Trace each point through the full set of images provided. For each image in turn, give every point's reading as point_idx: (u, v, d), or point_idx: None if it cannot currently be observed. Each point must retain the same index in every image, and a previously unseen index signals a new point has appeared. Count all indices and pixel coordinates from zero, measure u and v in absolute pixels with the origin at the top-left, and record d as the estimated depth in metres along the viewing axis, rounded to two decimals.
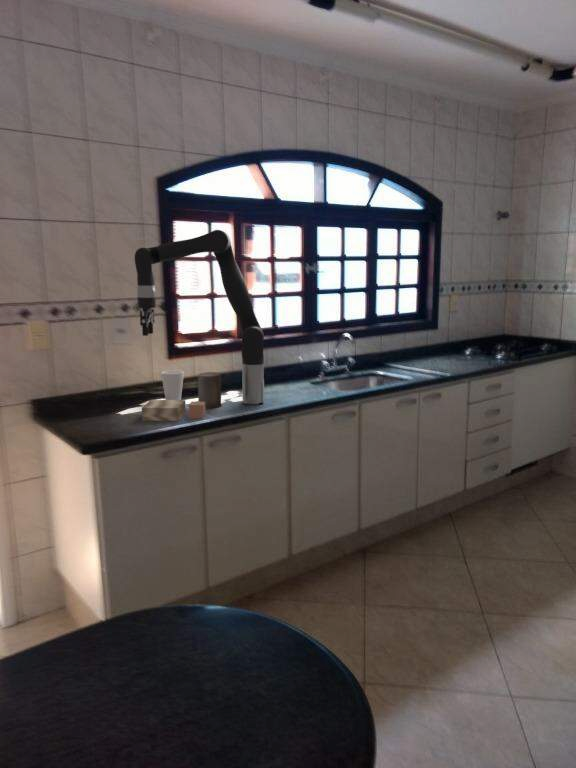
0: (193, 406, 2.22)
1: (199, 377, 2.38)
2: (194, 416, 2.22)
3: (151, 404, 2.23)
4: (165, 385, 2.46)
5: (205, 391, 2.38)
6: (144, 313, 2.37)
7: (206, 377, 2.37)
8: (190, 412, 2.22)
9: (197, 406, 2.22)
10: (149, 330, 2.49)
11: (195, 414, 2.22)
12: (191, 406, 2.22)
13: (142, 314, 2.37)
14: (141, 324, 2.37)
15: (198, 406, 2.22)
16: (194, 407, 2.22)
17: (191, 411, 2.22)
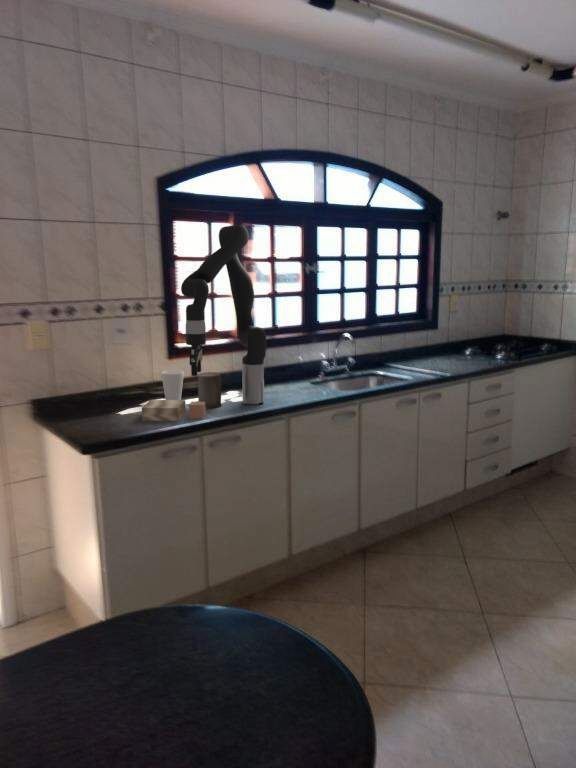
0: (193, 406, 2.22)
1: (199, 377, 2.38)
2: (194, 416, 2.22)
3: (151, 404, 2.23)
4: (165, 385, 2.46)
5: (205, 391, 2.38)
6: (194, 351, 2.13)
7: (206, 377, 2.37)
8: (190, 412, 2.22)
9: (197, 406, 2.22)
10: (197, 368, 2.26)
11: (195, 414, 2.22)
12: (191, 406, 2.22)
13: (192, 353, 2.13)
14: (190, 363, 2.14)
15: (198, 406, 2.22)
16: (194, 407, 2.22)
17: (191, 411, 2.22)
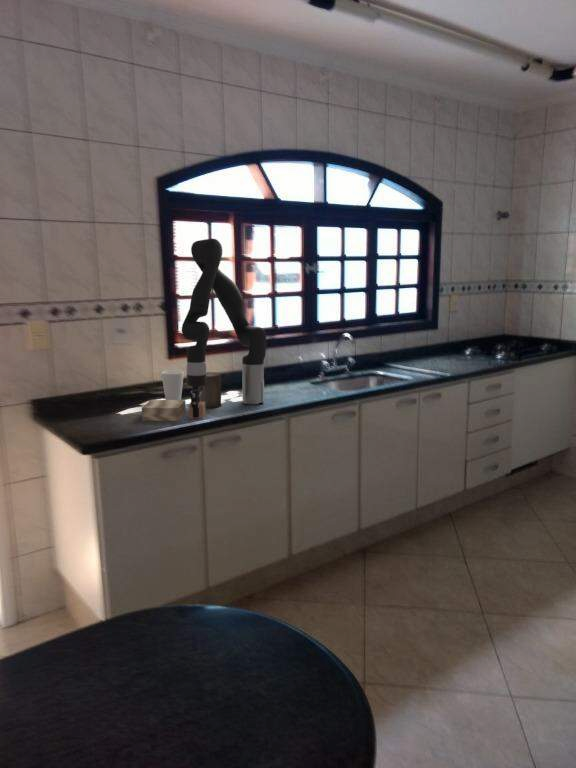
0: None
1: None
2: None
3: (151, 404, 2.23)
4: (165, 385, 2.46)
5: (205, 391, 2.38)
6: (195, 396, 2.17)
7: (206, 377, 2.37)
8: (190, 412, 2.22)
9: None
10: None
11: None
12: None
13: (193, 397, 2.17)
14: (192, 406, 2.18)
15: None
16: None
17: (191, 411, 2.22)
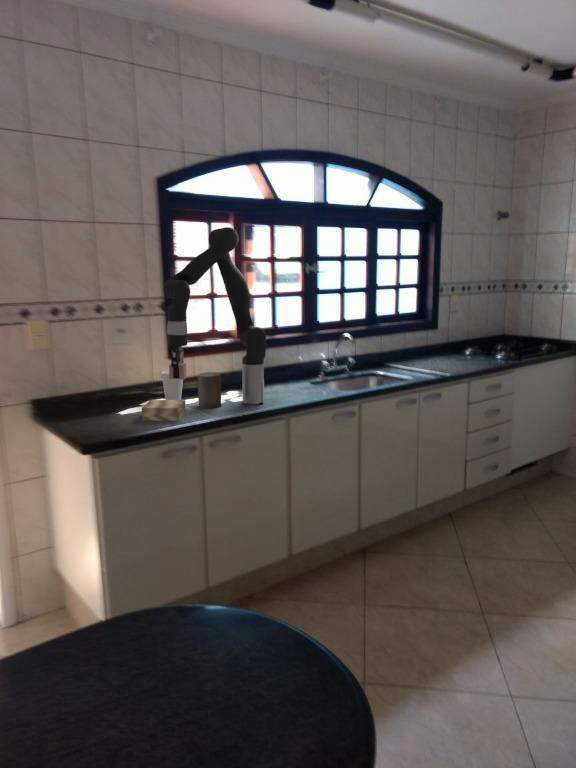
0: None
1: (199, 377, 2.38)
2: None
3: (151, 404, 2.23)
4: (165, 385, 2.46)
5: (205, 391, 2.38)
6: (175, 355, 2.13)
7: (206, 377, 2.37)
8: (170, 372, 2.19)
9: None
10: None
11: None
12: (171, 366, 2.18)
13: (173, 356, 2.13)
14: (172, 366, 2.15)
15: None
16: None
17: (171, 371, 2.18)
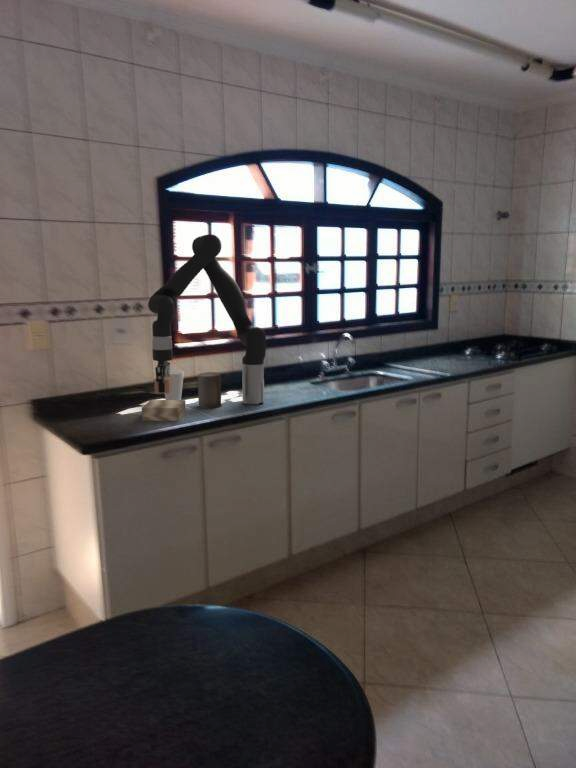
0: None
1: (199, 377, 2.38)
2: None
3: (151, 404, 2.23)
4: None
5: (205, 391, 2.38)
6: (160, 370, 2.15)
7: (206, 377, 2.37)
8: (156, 387, 2.20)
9: None
10: None
11: None
12: (156, 381, 2.20)
13: (158, 371, 2.15)
14: (157, 381, 2.17)
15: None
16: None
17: (156, 386, 2.20)
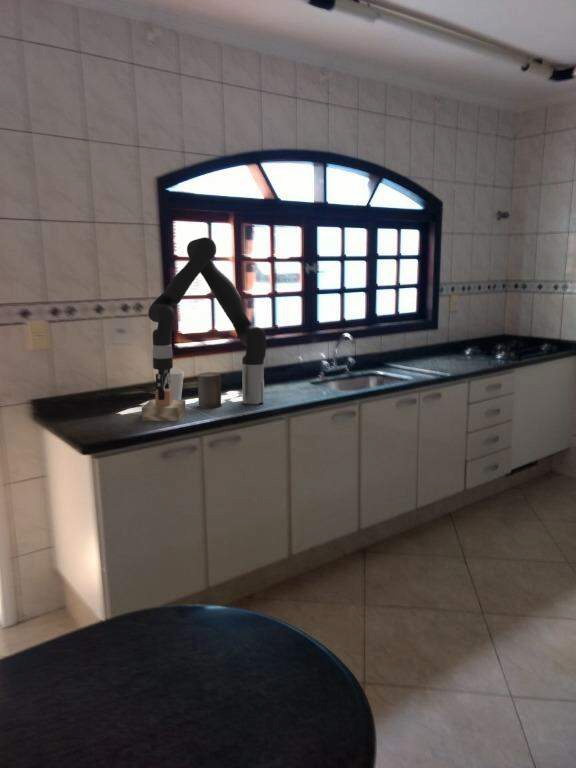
0: None
1: (199, 377, 2.38)
2: (160, 403, 2.22)
3: (151, 404, 2.23)
4: None
5: (205, 391, 2.38)
6: (160, 376, 2.15)
7: (206, 377, 2.37)
8: (156, 399, 2.21)
9: None
10: None
11: (162, 401, 2.21)
12: (157, 393, 2.21)
13: (158, 377, 2.15)
14: (157, 388, 2.16)
15: (164, 393, 2.21)
16: None
17: (157, 398, 2.21)
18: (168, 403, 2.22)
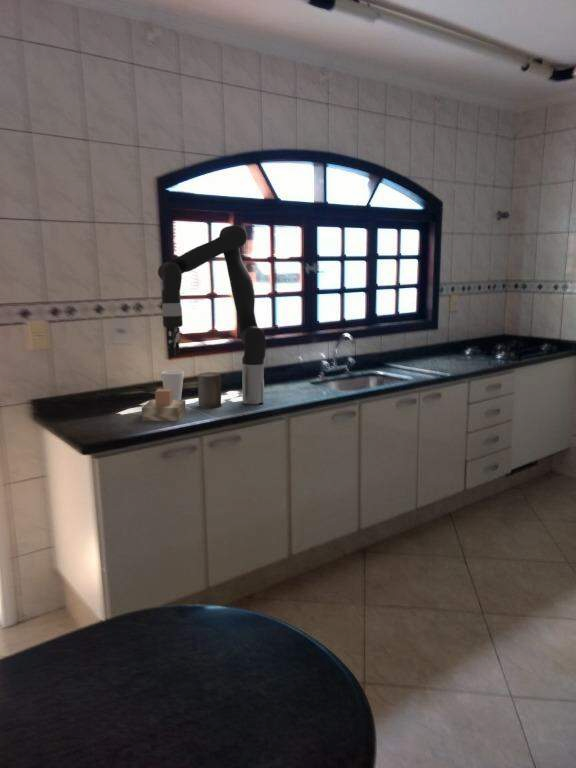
0: (159, 393, 2.21)
1: (199, 377, 2.38)
2: (160, 403, 2.22)
3: (151, 404, 2.23)
4: (165, 385, 2.46)
5: (205, 391, 2.38)
6: (171, 333, 2.20)
7: (206, 377, 2.37)
8: (156, 399, 2.21)
9: (163, 393, 2.21)
10: (175, 350, 2.32)
11: (162, 401, 2.21)
12: (157, 393, 2.21)
13: (169, 334, 2.20)
14: (168, 345, 2.20)
15: (164, 393, 2.21)
16: (160, 394, 2.21)
17: (157, 398, 2.21)
18: (168, 403, 2.22)
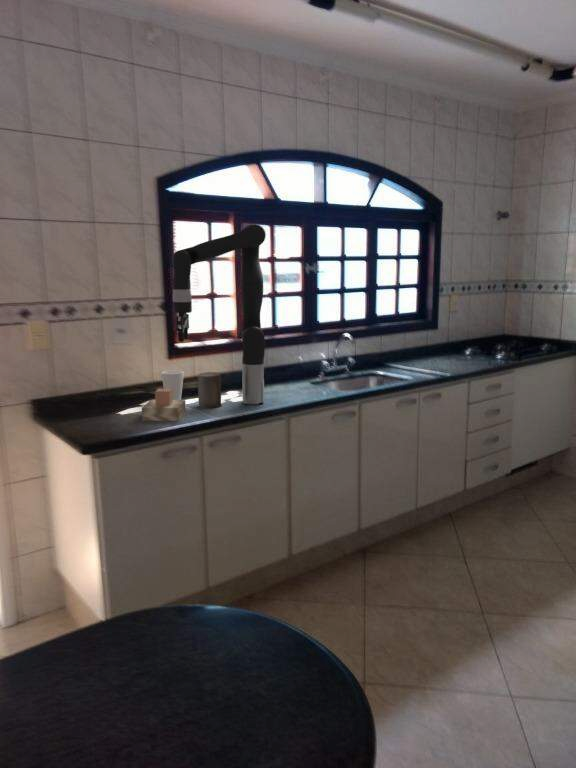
0: (159, 393, 2.21)
1: (199, 377, 2.38)
2: (160, 403, 2.22)
3: (151, 404, 2.23)
4: (165, 385, 2.46)
5: (205, 391, 2.38)
6: (180, 318, 2.27)
7: (206, 377, 2.37)
8: (156, 399, 2.21)
9: (163, 393, 2.21)
10: (184, 336, 2.39)
11: (162, 401, 2.21)
12: (157, 393, 2.21)
13: (178, 319, 2.27)
14: (177, 330, 2.28)
15: (164, 393, 2.21)
16: (160, 394, 2.21)
17: (157, 398, 2.21)
18: (168, 403, 2.22)
